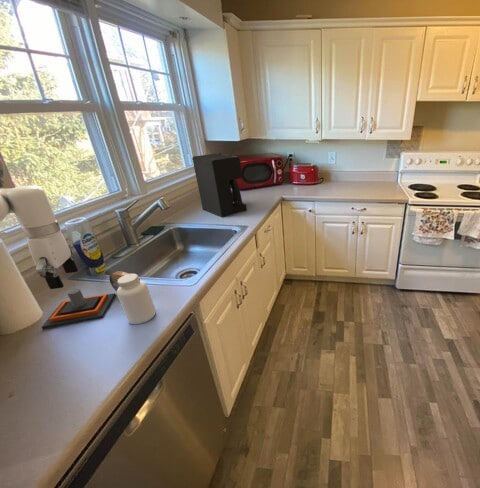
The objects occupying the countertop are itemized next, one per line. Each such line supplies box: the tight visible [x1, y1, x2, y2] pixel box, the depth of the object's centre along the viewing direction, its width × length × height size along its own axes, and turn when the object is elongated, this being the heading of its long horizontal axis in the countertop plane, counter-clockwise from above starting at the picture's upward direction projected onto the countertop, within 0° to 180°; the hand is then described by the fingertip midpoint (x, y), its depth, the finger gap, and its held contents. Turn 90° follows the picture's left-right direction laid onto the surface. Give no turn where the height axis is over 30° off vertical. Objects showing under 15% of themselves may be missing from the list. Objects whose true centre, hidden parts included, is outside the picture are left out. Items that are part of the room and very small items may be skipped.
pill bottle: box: [116, 273, 157, 325], centre depth 88 cm, size 8×8×15 cm
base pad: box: [41, 292, 117, 330], centre depth 94 cm, size 16×13×2 cm
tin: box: [108, 270, 141, 292], centre depth 101 cm, size 15×3×8 cm, turn 67°
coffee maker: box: [191, 153, 248, 218], centre depth 180 cm, size 28×20×35 cm
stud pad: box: [60, 288, 101, 316], centre depth 92 cm, size 9×6×7 cm, turn 109°
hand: (65, 279), depth 88 cm, fingers open, 9 cm apart
